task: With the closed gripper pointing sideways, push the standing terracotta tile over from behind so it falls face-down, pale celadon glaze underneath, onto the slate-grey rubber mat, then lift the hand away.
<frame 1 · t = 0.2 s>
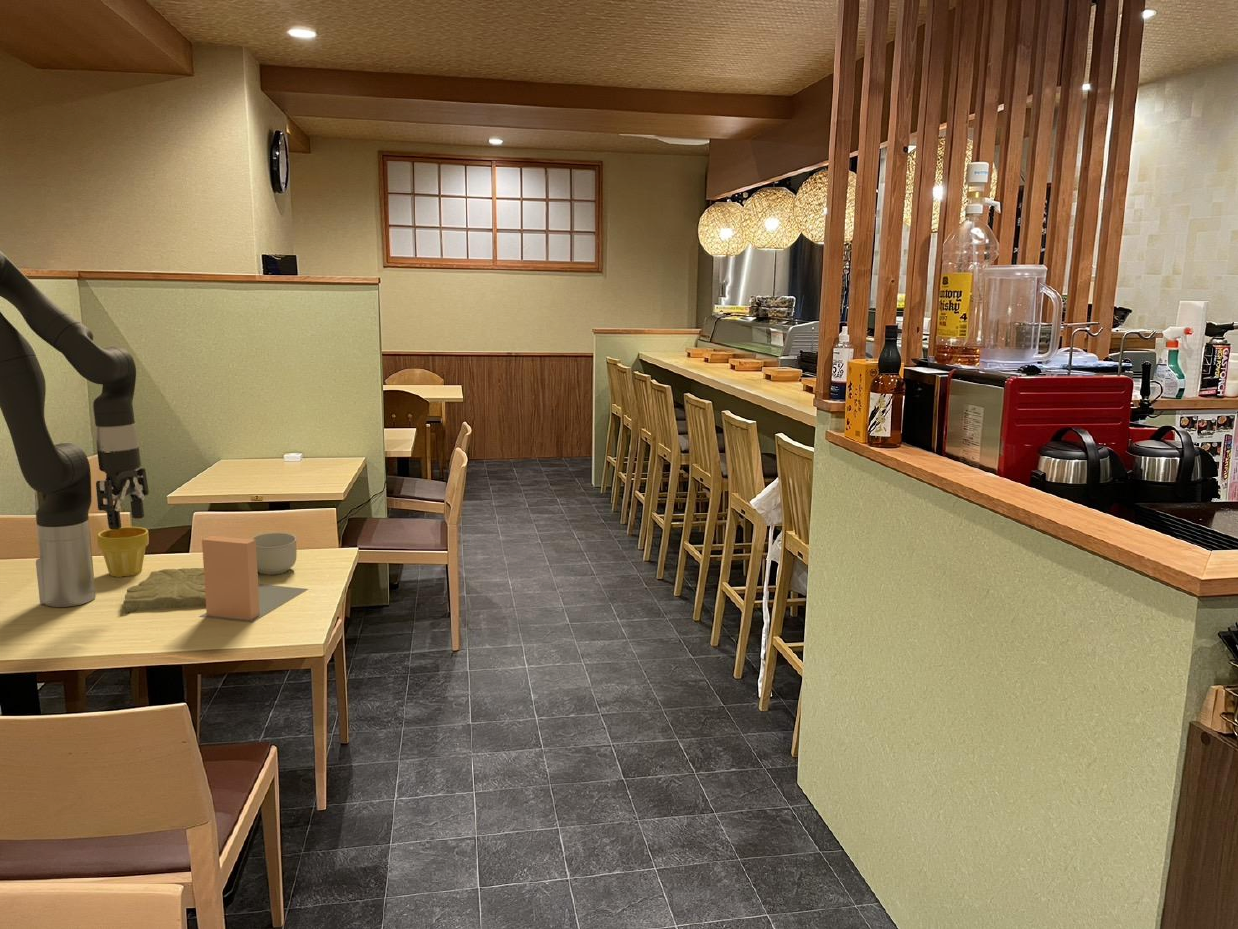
hand: (127, 523, 184), 17 cm above the table, tool pointing down, fingers open, 8 cm apart
rubber mat: (233, 617, 182), on the table
plant pot: (126, 573, 207), on the table
terracotta tile: (233, 615, 181), resting on rubber mat
decorative tile: (178, 597, 194), on the table
teacup: (267, 571, 211), on the table
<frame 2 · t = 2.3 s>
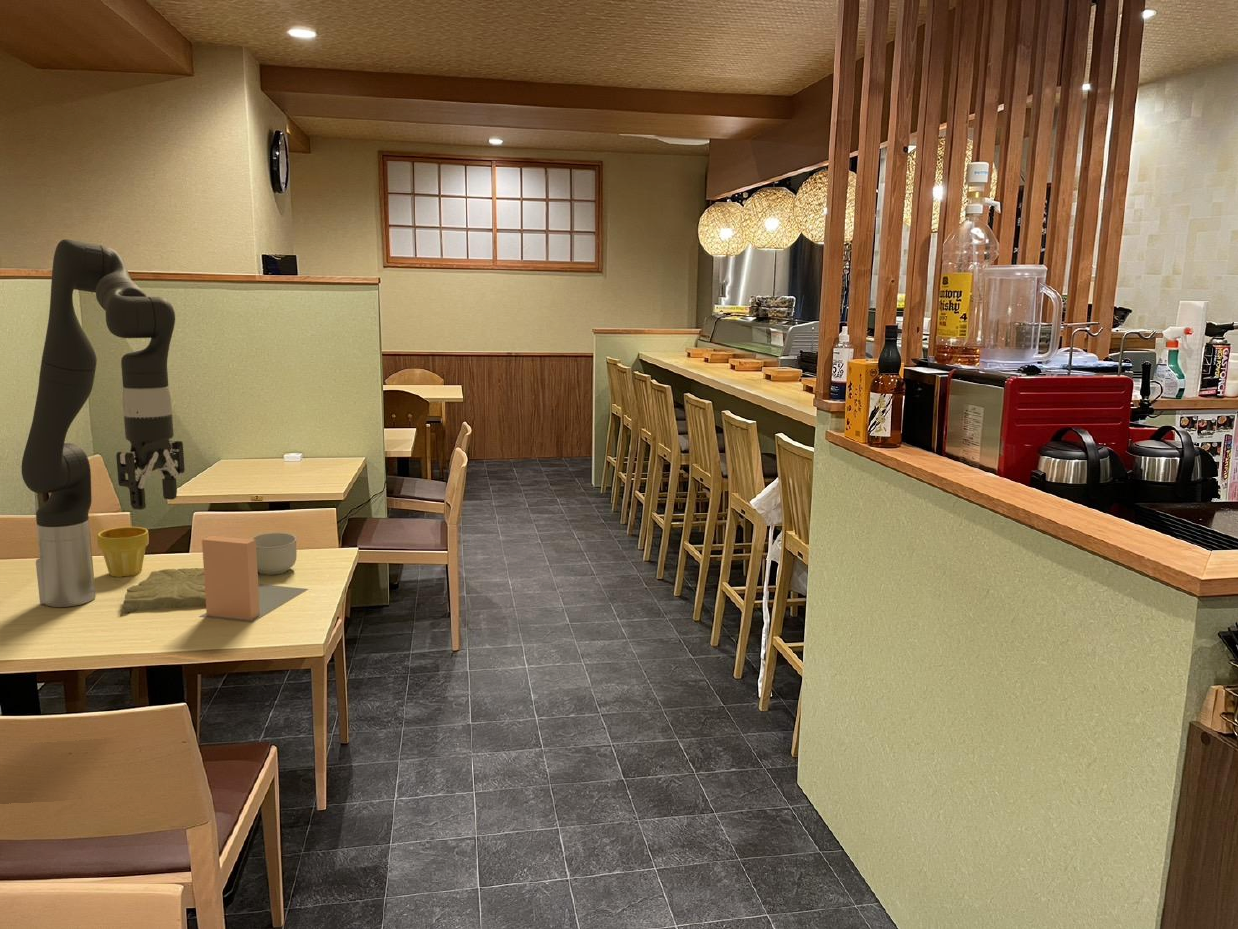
hand: (155, 503, 159), 28 cm above the table, tool pointing down, fingers open, 7 cm apart
nothing on the table moved.
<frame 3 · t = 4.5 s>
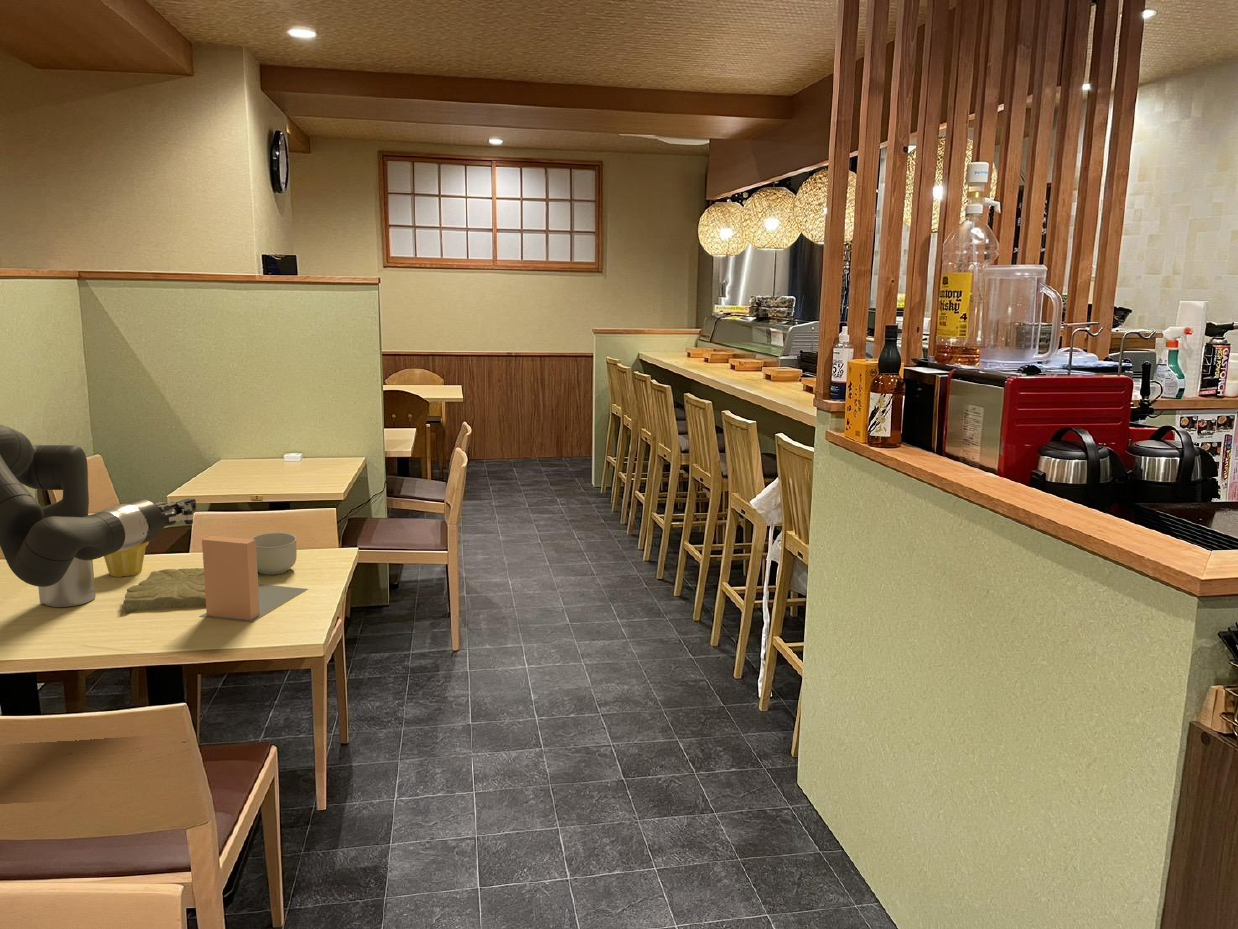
hand: (192, 504, 166), 26 cm above the table, tool horizontal, fingers closed
nothing on the table moved.
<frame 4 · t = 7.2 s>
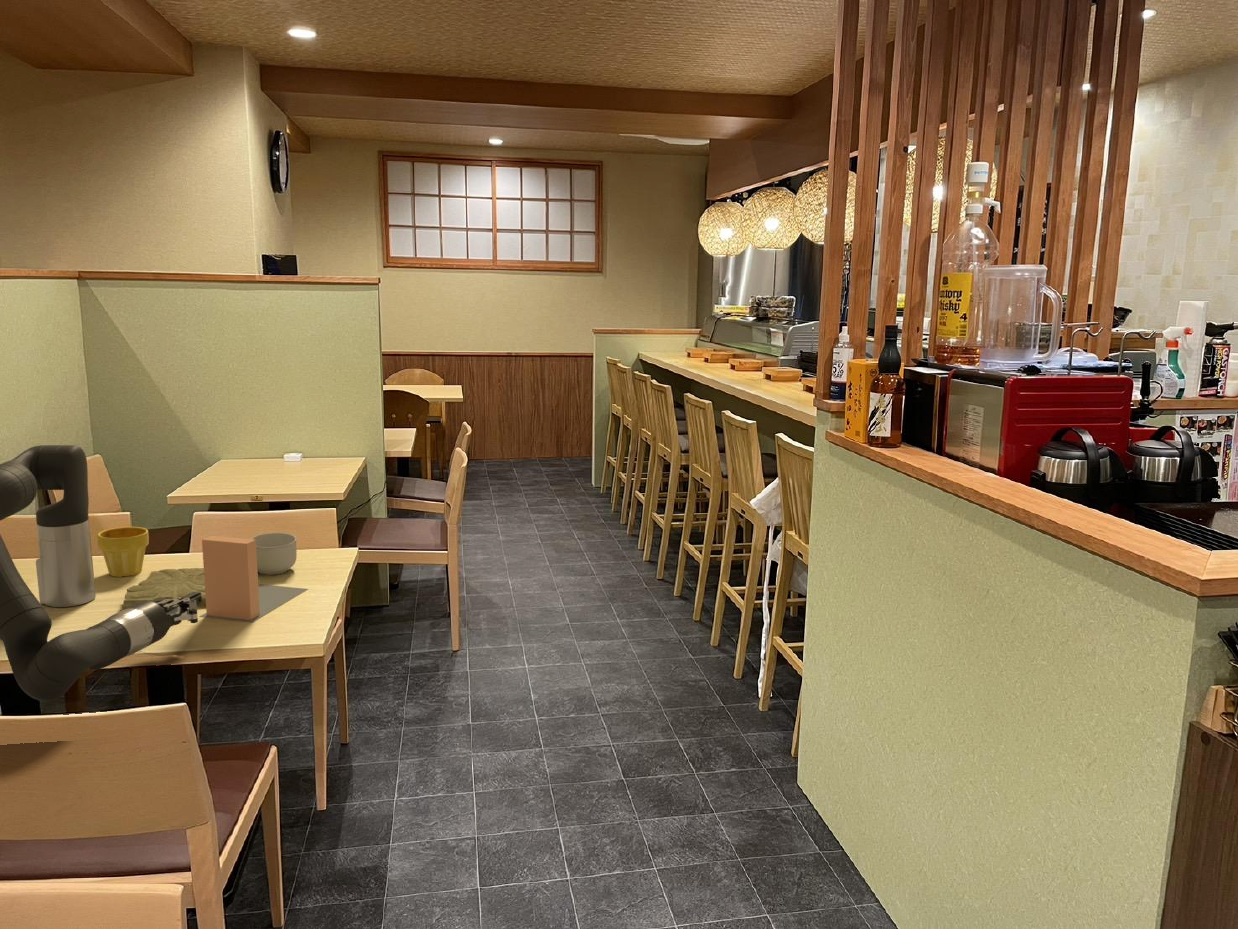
hand: (198, 596, 170), 8 cm above the table, tool horizontal, fingers closed
nothing on the table moved.
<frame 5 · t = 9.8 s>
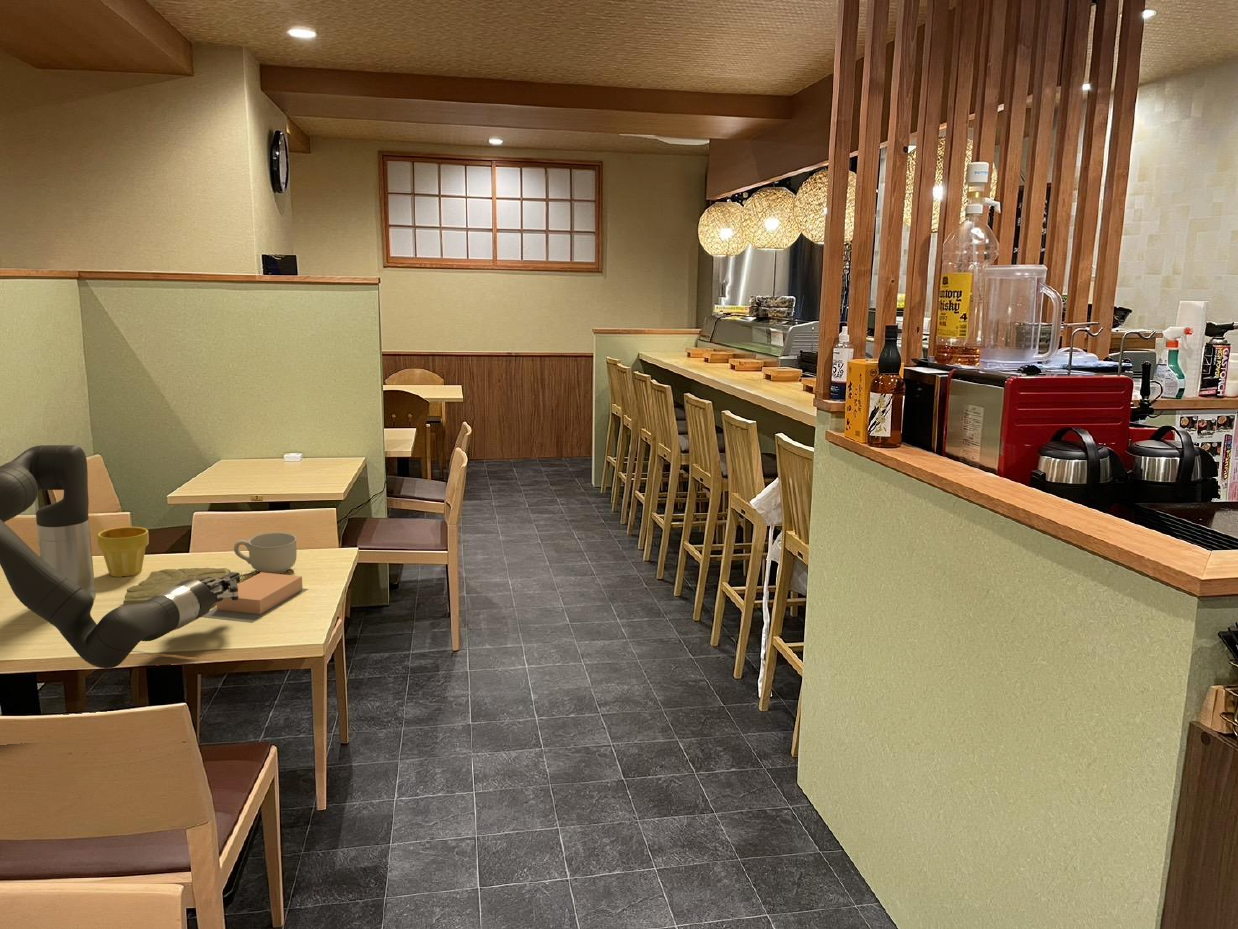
hand: (236, 577, 182), 8 cm above the table, tool horizontal, fingers closed
terracotta tile: (238, 604, 183), point 2 cm above the table, tilted 90°, touching rubber mat
everything else where it was.
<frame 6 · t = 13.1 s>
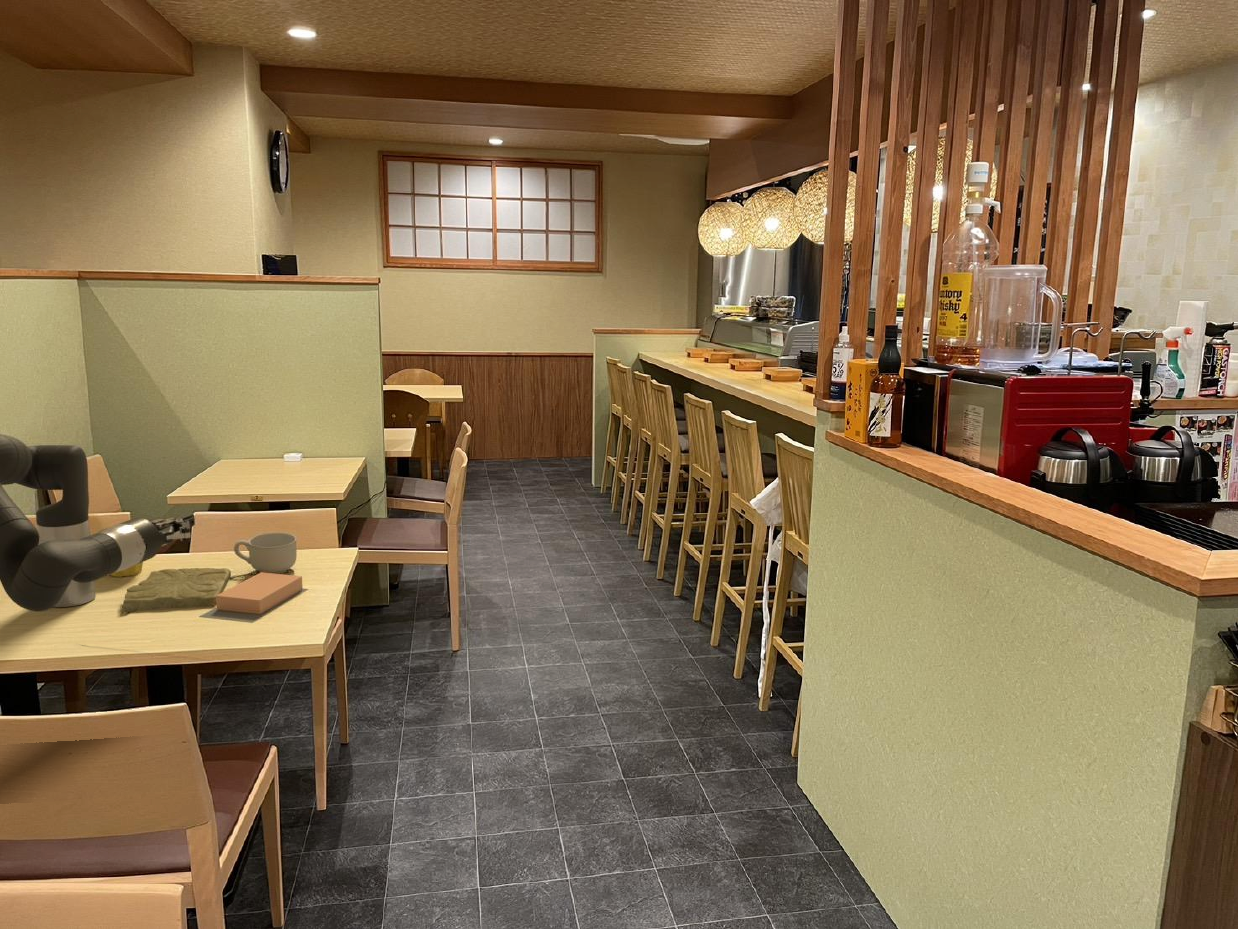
hand: (191, 519, 167), 23 cm above the table, tool horizontal, fingers closed
nothing on the table moved.
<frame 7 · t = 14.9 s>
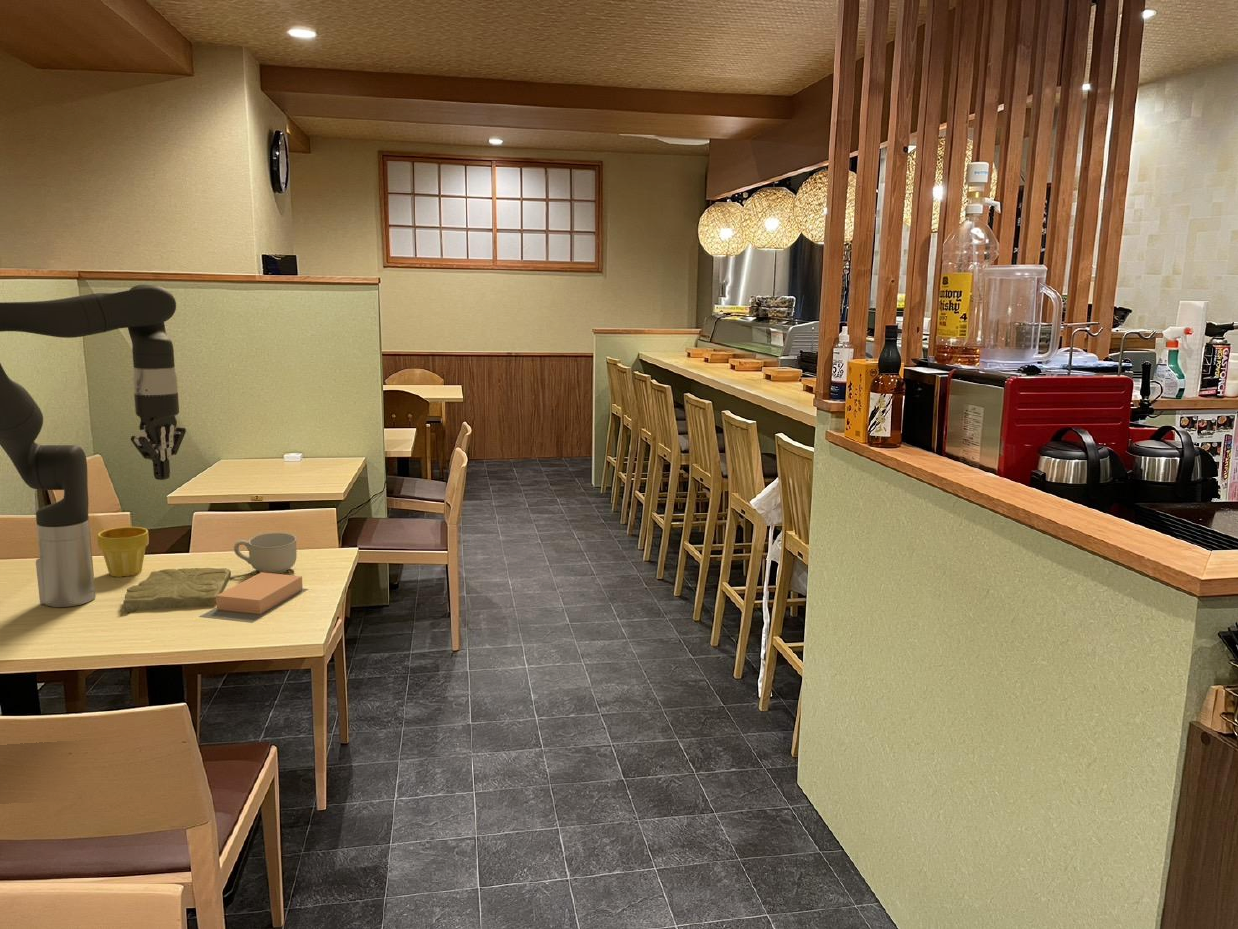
hand: (162, 478, 174), 29 cm above the table, tool pointing down, fingers closed
nothing on the table moved.
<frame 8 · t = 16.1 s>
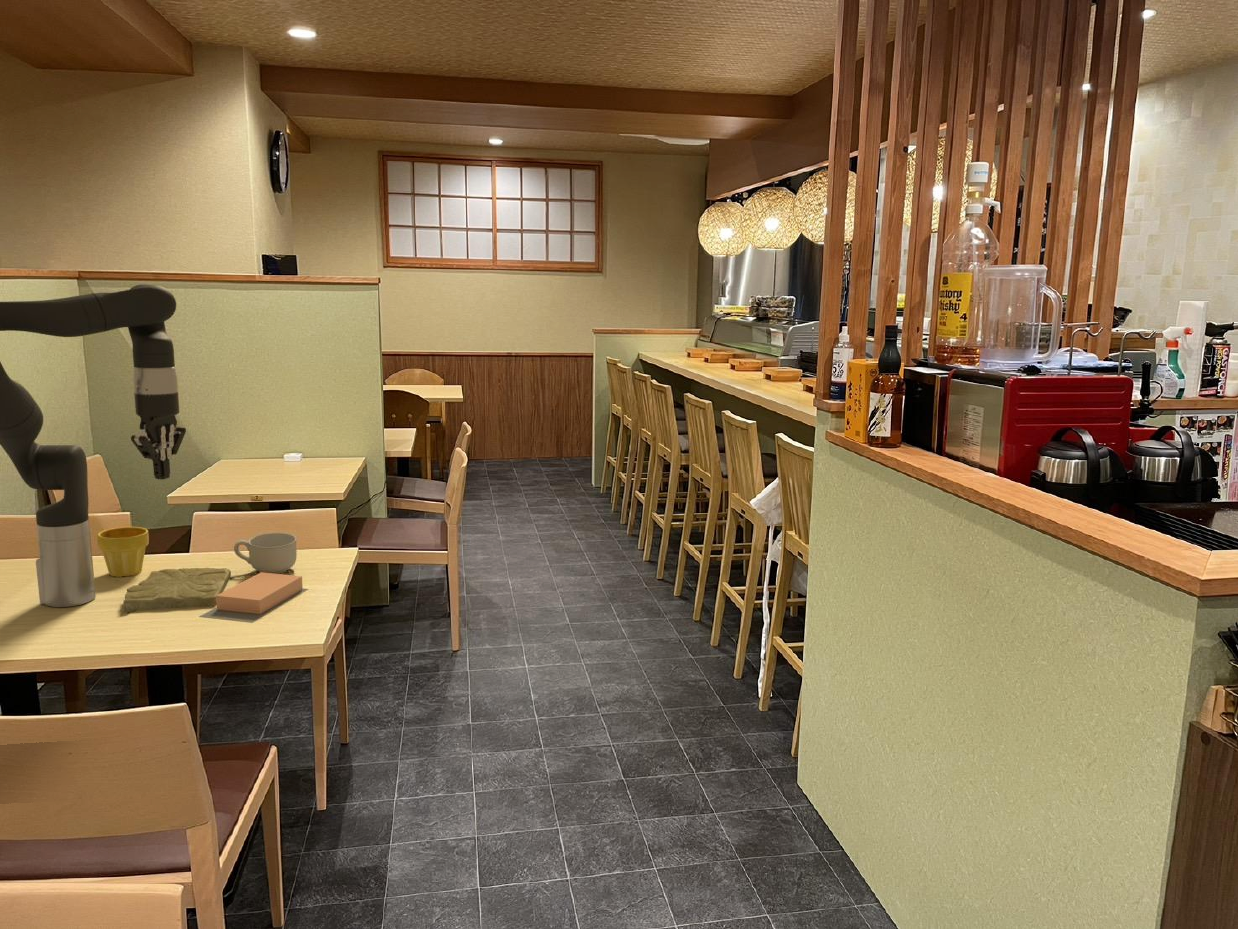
hand: (162, 478, 174), 29 cm above the table, tool pointing down, fingers closed
nothing on the table moved.
at the end: terracotta tile tilted 90°; terracotta tile inside the target area (1.6 cm from its centre), point 2.0 cm above the table; terracotta tile touching rubber mat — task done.
